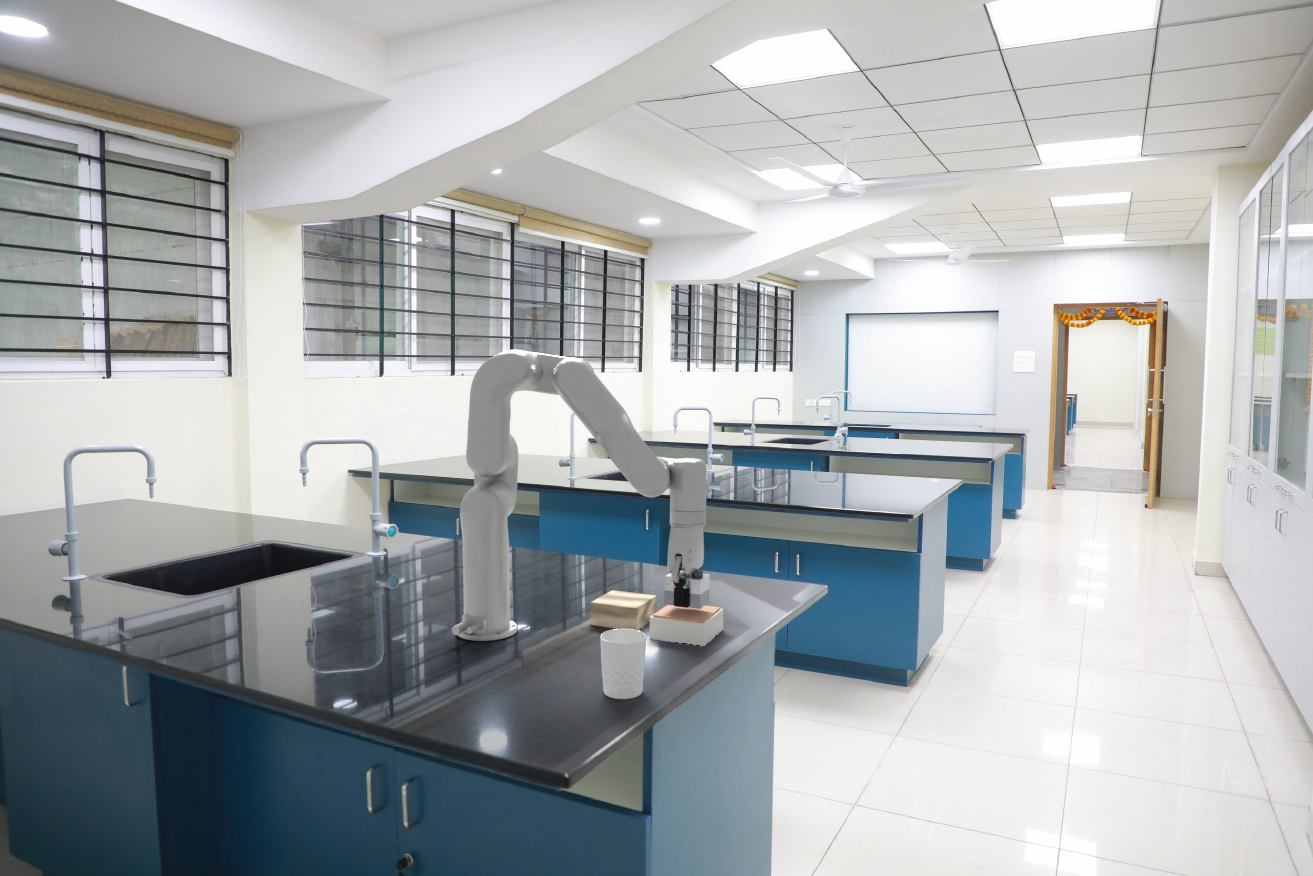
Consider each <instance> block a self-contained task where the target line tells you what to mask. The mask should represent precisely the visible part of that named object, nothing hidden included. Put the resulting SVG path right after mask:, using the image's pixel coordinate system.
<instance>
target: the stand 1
mask: <svg viewBox="0 0 1313 876" xmlns="http://www.w3.org/2000/svg"><path fill="white" fill-rule="evenodd" d="M657 597H658V596H657V595H655V594H647V593H640V592H630V591H622V590H621V591H620V590H609V592H607V593H605V594H603V595H601V596H599V597H597V598H595V599H594V600H592V601H590V603H589V605H590V607H589V608H590V610H589V611H590V616H589V617H590V620H589V622H590V623H589V624H590V625H591V626H596V627H602V628H603V627H604V628H609V629H634V630H638V631H640V630H641V629H642V628H643V627H645V626H646V625H647V624H650V617H651V616H652V615H653V614H655V613H656V612H658V609H657V606H658V605H657V604H658V603H657V601H658V599H657ZM640 628H641V629H640Z"/></svg>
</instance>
